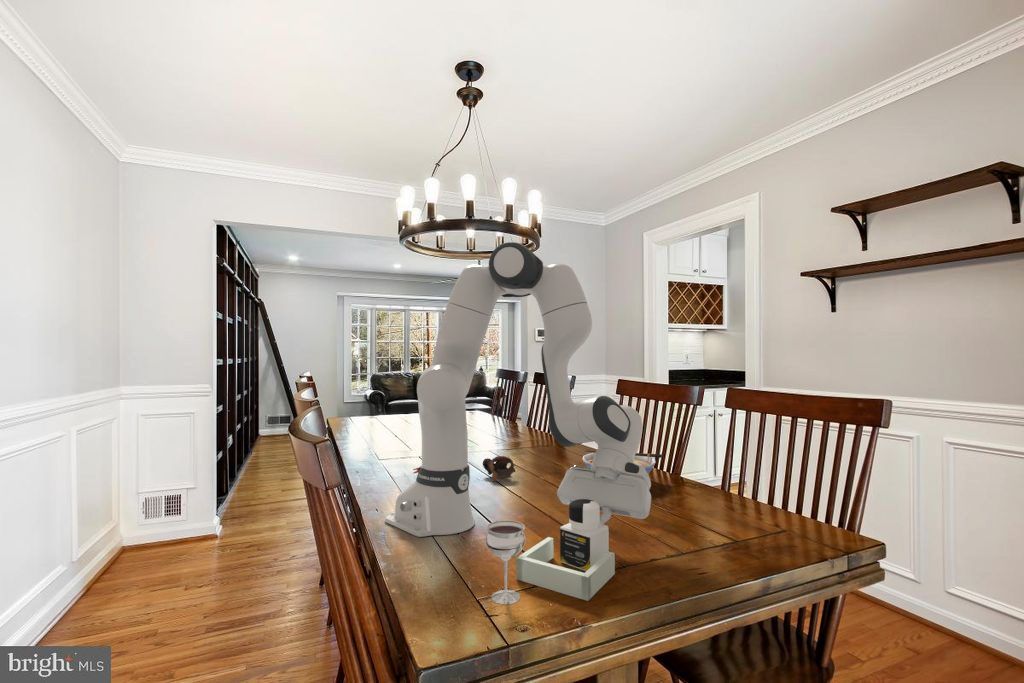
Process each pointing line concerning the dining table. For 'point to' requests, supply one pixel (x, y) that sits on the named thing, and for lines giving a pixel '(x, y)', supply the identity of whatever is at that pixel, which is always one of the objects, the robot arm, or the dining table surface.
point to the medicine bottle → (583, 535)
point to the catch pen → (563, 572)
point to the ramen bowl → (639, 459)
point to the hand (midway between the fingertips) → (592, 528)
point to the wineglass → (505, 551)
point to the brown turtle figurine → (498, 467)
